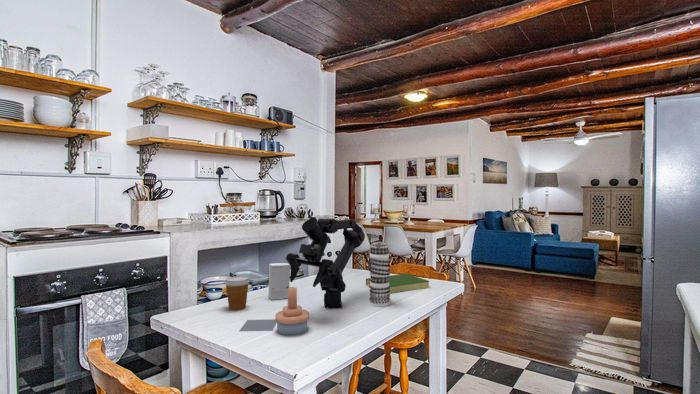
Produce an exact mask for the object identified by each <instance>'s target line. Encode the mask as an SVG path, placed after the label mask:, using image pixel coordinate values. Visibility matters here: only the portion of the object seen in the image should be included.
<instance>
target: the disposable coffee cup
mask: <svg viewBox="0 0 700 394" xmlns="http://www.w3.org/2000/svg"><path fill="white" fill-rule="evenodd" d="M250 282H251V281H250V279H249V277H248V276H246V275H245V276H244V275H238V276H235V275H234V276H230V277H226V278H225V281H224V284H225V288H226V294H227V295H226V296H227V304H228V309H229V311H241V310H244V309H247V308H246V307H247V299H248V291H249V283H250Z"/></svg>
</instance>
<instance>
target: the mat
mask: <svg viewBox="0 0 700 394" xmlns="http://www.w3.org/2000/svg"><path fill="white" fill-rule="evenodd" d="M276 326H277V321H276V318H275V319H247V320H246V321H245V322H244V324H242V327H241V328H240V329H239V332H271V331H273V330H274V329H275V327H276Z"/></svg>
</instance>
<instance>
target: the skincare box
mask: <svg viewBox="0 0 700 394" xmlns="http://www.w3.org/2000/svg"><path fill="white" fill-rule="evenodd" d="M290 276H291V265H290V264H289V263H288V262H276V263H273V262H272V263H269V264H268V297H269V299H270V301H275V300H283V299H288V288H290Z"/></svg>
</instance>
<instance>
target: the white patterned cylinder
mask: <svg viewBox="0 0 700 394" xmlns="http://www.w3.org/2000/svg"><path fill="white" fill-rule="evenodd" d="M369 247H370V250H369V252H370V253H369V255H368V257H367V259H368V263H369V264H368V271H369V276H370V278H371V281H370V286H368V288H369V296H368V297H369V304H370V305H371V306H376V307H385V306H388V305H390V304H391V302H390V301H391V293H390V294H389V292H390V290H389V289H390V286H389V276H391V273H390V272H391V269H390V267H391V264H390V263H391V262H392V261H390V260H389V259H390V258H391V255H390V253H389V248H390V245H388V243H387V242H385V241H374V242H372V243H371V245H370V246H369Z"/></svg>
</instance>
